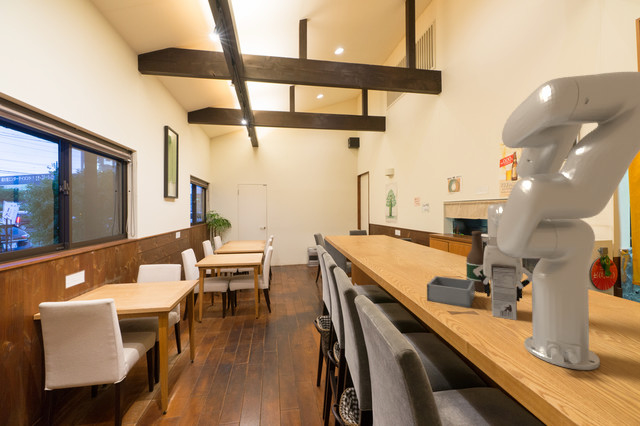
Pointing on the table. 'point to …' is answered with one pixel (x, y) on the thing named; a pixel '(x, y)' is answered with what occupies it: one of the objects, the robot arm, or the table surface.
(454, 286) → the bin
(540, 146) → the robot arm
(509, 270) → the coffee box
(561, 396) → the table surface
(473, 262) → the beer bottle
